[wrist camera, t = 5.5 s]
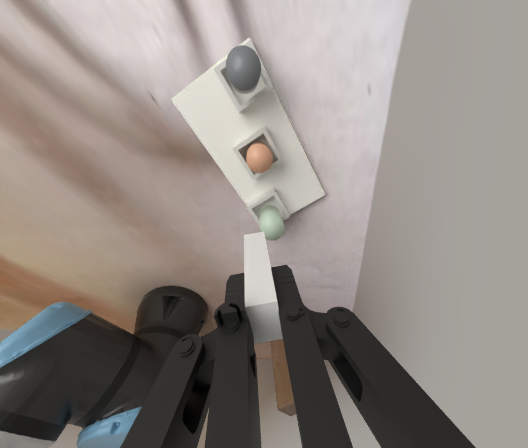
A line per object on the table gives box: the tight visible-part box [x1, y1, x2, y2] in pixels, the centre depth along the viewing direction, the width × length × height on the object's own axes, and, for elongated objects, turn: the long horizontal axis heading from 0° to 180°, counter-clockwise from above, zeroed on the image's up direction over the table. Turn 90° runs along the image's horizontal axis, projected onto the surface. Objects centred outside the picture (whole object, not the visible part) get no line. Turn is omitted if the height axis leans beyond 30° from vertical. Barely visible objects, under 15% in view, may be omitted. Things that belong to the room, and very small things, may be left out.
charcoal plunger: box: [226, 45, 261, 94], centre depth 23 cm, size 4×4×5 cm
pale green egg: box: [259, 205, 285, 240], centre depth 32 cm, size 4×4×5 cm
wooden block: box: [271, 339, 296, 416], centre depth 46 cm, size 9×4×18 cm, turn 129°
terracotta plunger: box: [246, 141, 273, 173], centre depth 30 cm, size 4×4×5 cm
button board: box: [171, 38, 325, 226], centre depth 32 cm, size 13×25×3 cm, turn 31°
